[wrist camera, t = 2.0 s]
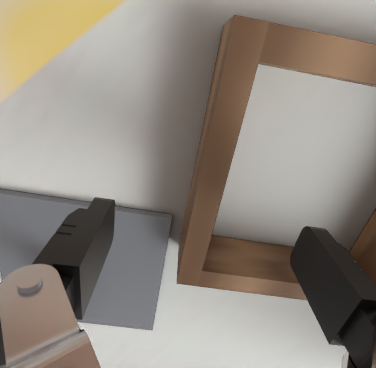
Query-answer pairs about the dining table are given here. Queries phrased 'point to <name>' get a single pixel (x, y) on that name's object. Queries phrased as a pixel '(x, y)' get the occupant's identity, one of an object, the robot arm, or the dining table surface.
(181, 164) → the dining table surface
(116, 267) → the slate plate
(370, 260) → the walnut collar
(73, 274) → the robot arm
